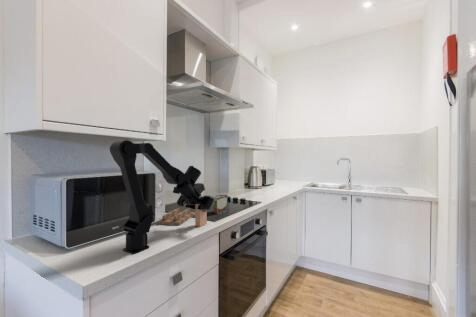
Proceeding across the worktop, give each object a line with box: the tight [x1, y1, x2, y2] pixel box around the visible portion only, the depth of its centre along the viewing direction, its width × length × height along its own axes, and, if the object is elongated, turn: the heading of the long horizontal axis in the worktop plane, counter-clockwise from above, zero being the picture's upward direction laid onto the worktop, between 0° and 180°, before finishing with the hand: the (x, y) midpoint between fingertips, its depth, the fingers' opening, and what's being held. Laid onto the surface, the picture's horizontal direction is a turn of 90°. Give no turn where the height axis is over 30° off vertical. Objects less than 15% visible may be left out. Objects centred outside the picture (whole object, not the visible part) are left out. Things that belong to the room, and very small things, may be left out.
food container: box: [212, 194, 229, 215], centre depth 135 cm, size 12×6×10 cm, turn 149°
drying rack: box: [156, 207, 195, 226], centre depth 119 cm, size 20×12×4 cm, turn 170°
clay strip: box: [194, 204, 208, 228], centre depth 108 cm, size 5×3×13 cm, turn 150°
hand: (202, 210), depth 110 cm, fingers closed on clay strip, 3 cm apart
